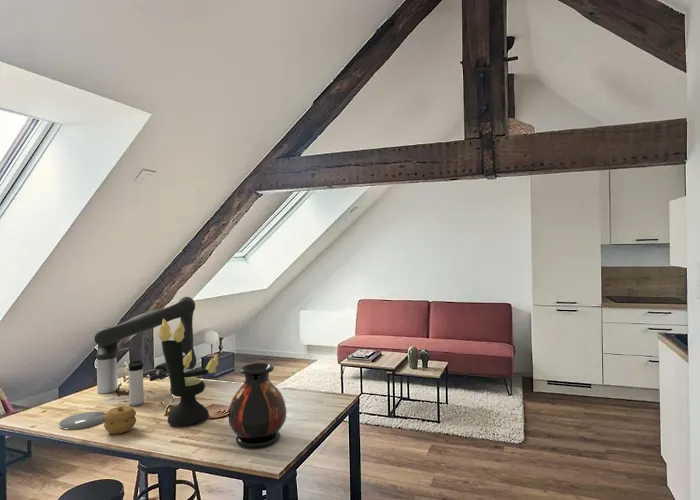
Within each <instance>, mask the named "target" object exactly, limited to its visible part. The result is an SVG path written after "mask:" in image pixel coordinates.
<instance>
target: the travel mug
mask: <svg viewBox="0 0 700 500" xmlns="http://www.w3.org/2000/svg"><path fill="white" fill-rule="evenodd" d="M143 363H144V362H143V361H142V360H136V361H133V362H130V363H128V366H127V367H128V369H127V371H128V403H129V405H128V406H129V407H138V406H142V405H143V404H144V403H145V402H144V401H145V400H144V397H145V396H144V394H145V393H144V378H143V371H144V368H143V367H144V366H143V365H144V364H143Z"/></svg>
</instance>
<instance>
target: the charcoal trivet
mask: <svg viewBox="0 0 700 500" xmlns="http://www.w3.org/2000/svg"><path fill="white" fill-rule="evenodd" d="M106 413H107V412H104V411H87V412H82V413H77V414H72V415H71V416H68V417H65V418H63V419H62V420H61V421H59V425H60V426H61V427H63V428H68V429H76V430H80V429H79V428H83V429H86V428H85V427H88V428H91V427H90V426H92V427H95V426H98V425H100V424H103V423H105V422H106V421H105V420H104V416H105V414H106ZM102 422H103V423H102ZM60 426H59V427H60Z"/></svg>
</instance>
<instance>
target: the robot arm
mask: <svg viewBox="0 0 700 500" xmlns="http://www.w3.org/2000/svg"><path fill="white" fill-rule="evenodd" d="M195 309H196V302H195V300H194V299H193V298H192V297H191V296H183V297H182V298H180V299H179V301H178V302H177V303H175V304H174V303H173V304H172V305H169V306H166V307H164V308H157V309H152V310H149V311H146V312H143V313H141V314H138V315H136V316H133V317H131V318H130V319H128V320H126V321H124V322H122V323H120V324H117V325H114V326H104V327H101V328H100V329H99V330H97V332H95V335H94V342H95V344H97V351H96V381H97V382H96V384H97V385H96V386H97V387H96V388H97V393H98V394H108V393H109V394H110V393H113V392H116V391H117V390H116V388H117V389H118V362H117V359H118V358H117V356H118V355H117V353H118V341H120V340H122V339H124V338H127V337H130V336H134V335H137V334H140V333H143V332H148V331H149V330H151V329H154V328H156V327H159V326H161V325H162V320H163V318H164V319H165V320H166V322H167V323H168V322H170V321H173V320H176V319H180V321H181V322H182V324H183V326H184V329H185V330H184V338H183V340H182V341H181V343H182V352H183V359H184V357H185V356H186V355H187V354H188V353H189V352H190V351H191V350H192V360H191V362H190V365H189V367H188V368H186V369H185V368H184V369H185V370H193V369H194V368H195V367H196V366H197V356H196V353H195V350H194V332H193V331H194V329H193V328H194V327H193V318H194V311H195ZM144 378H146V379H149V381H150V382H153V381H156V380H164V379H166V378H169V374H168V369H167V365H166V361H165V362H162V363H160V364H157V365H156V366H155V368H154V369H143V379H144Z"/></svg>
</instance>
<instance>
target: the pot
mask: <svg viewBox="0 0 700 500" xmlns="http://www.w3.org/2000/svg"><path fill="white" fill-rule="evenodd" d="M105 413H106V414H105V416H104V420H105V421H104V422H103V423H104V424H103V427H104V428H105V430H106V431H107V432H108V433H110V434H113V435H114V434H115V435H117V434H123V433H126V432H128V431H130V430H131V429H132V428H133V427H134V426H135V424H136V423H137V417H136V415H137V411H136V410H135V408H133V406H129V405H128V406H125V405H124V406H118V407H113V408H111V409H109V410H108V411H107V412H105Z"/></svg>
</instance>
